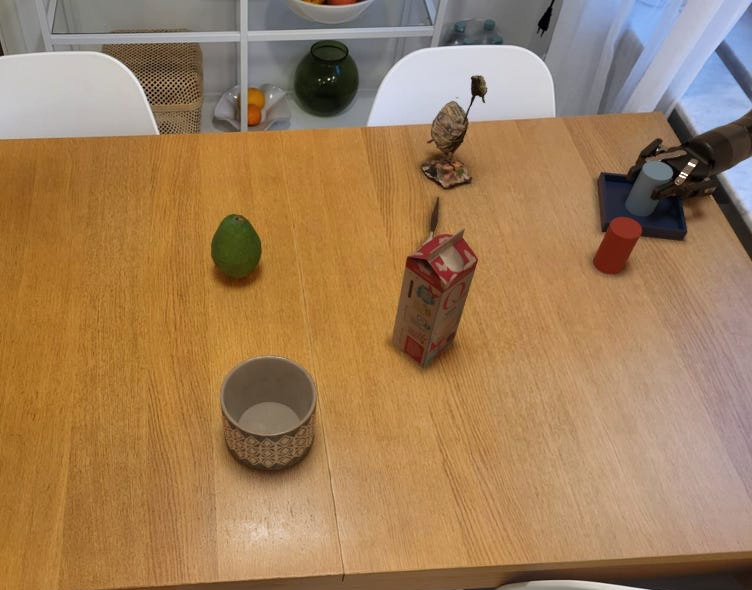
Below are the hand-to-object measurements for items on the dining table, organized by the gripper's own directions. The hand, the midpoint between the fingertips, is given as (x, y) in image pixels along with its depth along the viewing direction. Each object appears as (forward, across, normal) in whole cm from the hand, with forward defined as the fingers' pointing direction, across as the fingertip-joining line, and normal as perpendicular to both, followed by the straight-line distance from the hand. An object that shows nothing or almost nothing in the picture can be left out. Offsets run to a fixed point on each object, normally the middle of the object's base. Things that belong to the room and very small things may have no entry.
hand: (641, 185), depth 125 cm
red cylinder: (+11, +7, +6) cm, 15 cm away
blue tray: (-3, 0, +6) cm, 7 cm away
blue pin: (-3, 0, +6) cm, 7 cm away
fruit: (+65, -22, +7) cm, 69 cm away
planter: (+75, +8, +7) cm, 76 cm away
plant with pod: (+20, -26, +7) cm, 33 cm away
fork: (+31, -14, +7) cm, 35 cm away
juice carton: (+47, +5, +7) cm, 48 cm away
